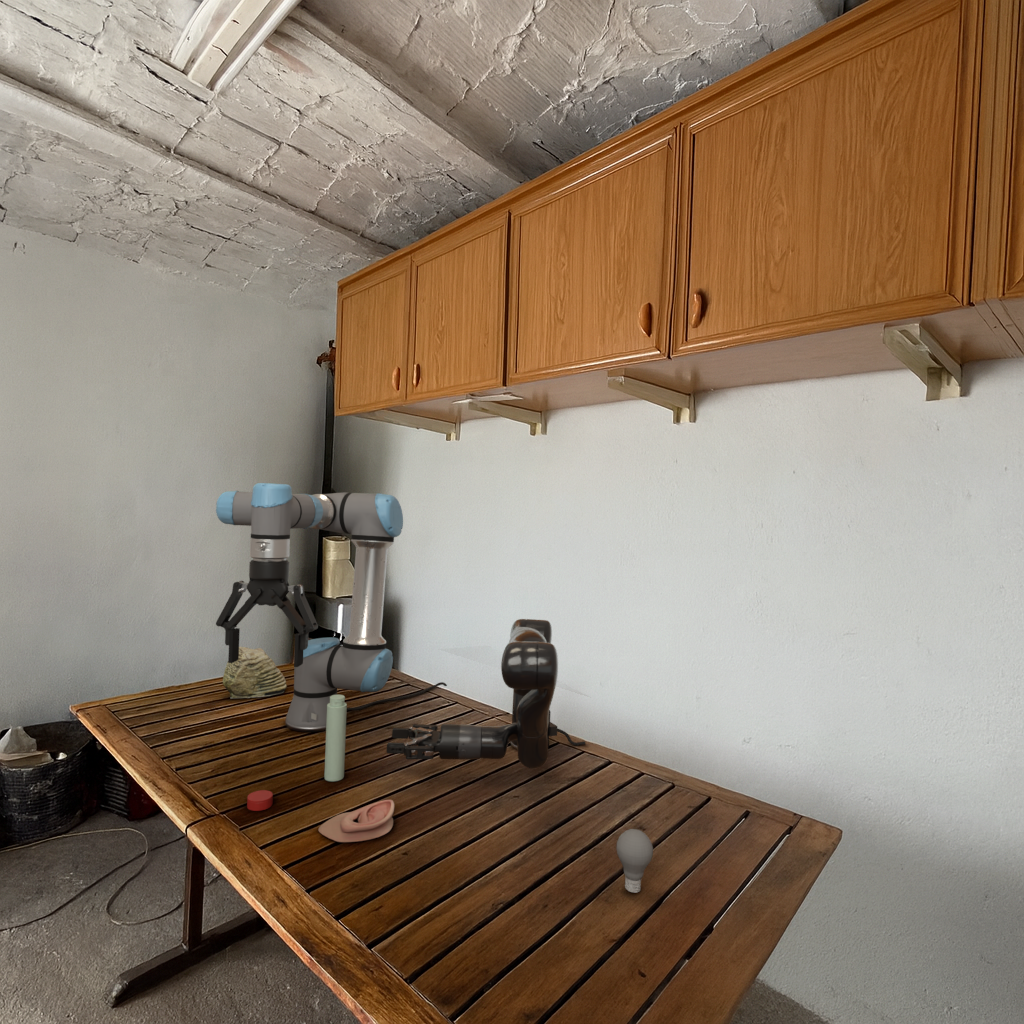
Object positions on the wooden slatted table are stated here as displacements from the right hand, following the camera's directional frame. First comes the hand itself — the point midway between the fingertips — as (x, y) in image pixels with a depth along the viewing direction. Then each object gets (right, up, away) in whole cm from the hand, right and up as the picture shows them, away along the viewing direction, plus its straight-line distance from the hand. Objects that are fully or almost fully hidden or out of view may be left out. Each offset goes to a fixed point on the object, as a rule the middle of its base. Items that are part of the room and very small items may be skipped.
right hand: (389, 740), depth 144 cm
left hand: (-22, +21, -15) cm, 34 cm away
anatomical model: (-2, -9, -22) cm, 24 cm away
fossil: (-53, -5, +54) cm, 76 cm away
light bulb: (+48, -11, -38) cm, 62 cm away
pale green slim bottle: (-12, -8, -1) cm, 15 cm away
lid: (-24, -6, -15) cm, 29 cm away
